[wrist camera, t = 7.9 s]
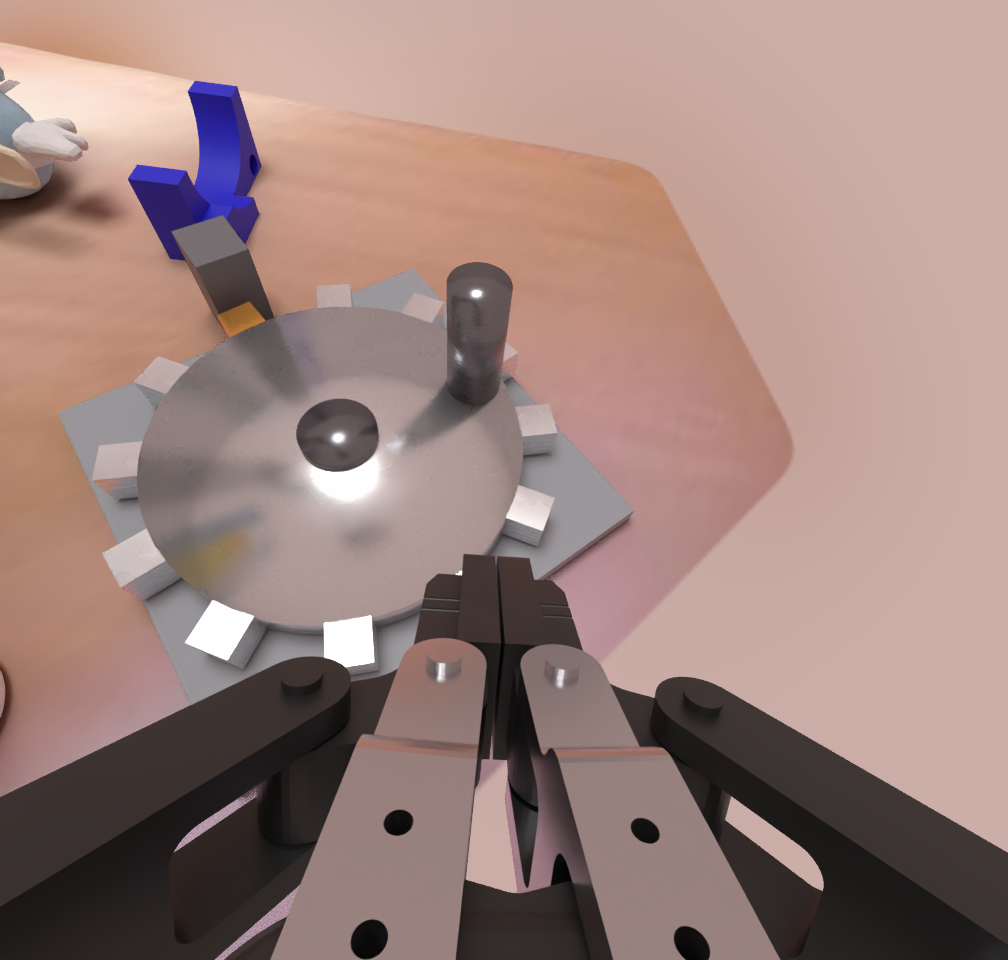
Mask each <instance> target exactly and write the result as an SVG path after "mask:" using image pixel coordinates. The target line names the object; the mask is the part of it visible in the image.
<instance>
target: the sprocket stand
mask: <svg viewBox="0 0 1008 960" xmlns="http://www.w3.org/2000/svg"><path fill="white" fill-rule="evenodd" d="M171 232H172V234H173V236H174V238H175V240H176V242H177V244H178V246H179V248H180V250H181V252H182V254H183V256H184V258H185V260H186V262H187V264H188V266H189V268H190V270H191V272H192V274H193V276H194V278H195V280H196V282H197V284H198V285H199V287H200V289H201V291H202V293H203V295H204V297H205V299H206V301H207V303H208V305H209V307H210V309H211V311H212V313H213V314H214V316H215V317H216V319H217V320H218V322H219V323H220V325H221V326H222V324H221V322H220V320H219V318H218V316H217V315H219V314H221V313H224V312H226V311H228V310H231V309H233V308H235V307H237V306H240V305H242V304H244V303H247V302H250V303H251V304H252V305H253V306H254V307H255V309H256V310H257V311H258V312H259V313H260V315H261V316H262V317H263V318H264V319H265V321H267V320H270V319H273V318H274V316H273V313H272V311H271V308H270V305H269V303H268V300H267V297H266V295H265V292H264V289H263V287H262V284H261V281H260V279H259V276H258V274H257V271H256V268H255V266H254V263H253V260H252V258H251V255H250V252H249V250H248V248H247V247H246V245H245V244H244V243H243V241H242V240H241V239H240V237H239V236H238V235H237V233H236V232H235V231H234V229H233V228H232V227H231V225H230V224H229V223H228V221H227V220H226V219H225V217H224V216H223V215H222V216H219V217H215V218H212V219H209V220H206V221H203V222H200V223H196V224H193V225H190V226H187V227H184V228H181V229H177V230H174V231H171ZM414 292H415V293H418V294H421V295H424V296H427V297H430V298H433V299H436V300H439V301H442V300H441V299H440V297H439V296H438V295H437V294H436V293H435V292H434V291H433V290H432V289H431V288H430V286H429V285H428V284H427V283H426V282H425V281H424V280H423V279H422V278H421V277H420V276H419V274H418V273H417V272H416V271H415V270H414V269H411V270H408V271H406V272H403V273H401V274H398V275H396V276H394V277H391V278H389V279H386V280H384V281H381V282H379V283H376V284H374V285H371V286H369V287H366V288H364V289H361V290H359V291H356V292H354V293H352V297H353V302H354V307H368V308H378V309H384V310H390V311H395V312H400V313H401V312H402V311H403V309H404V307H405V306H406V304H407V303H408V301H409V300H410V298H411V297H412V295H413V294H414ZM442 302H443V301H442ZM314 309H317V308H314ZM222 328H223V326H222ZM223 329H224V328H223ZM443 329H445V330H447V305H446V304H445V303H444V327H443ZM224 331H225V330H224ZM208 352H209V351H208ZM206 353H207V352H206ZM206 353H203V354H201V355H198V356H196V357H193V358H191V359H188V360H186V361H183V362H181V363H179V364H182V365H185V366H188V367H191V366H192V365H193V364H194V363H195V362H196V361H197V360H199V359H200V358H201V357H202V356H204V355H205V354H206ZM503 383H504V384H505V386H506V387H507V390H508V392H509V394H510V396H511V398H512V400H513V402H514V404H515V407H519V406H529V405H537V404H536V402H535V401H534V400H533V399H532V398H531V397H530V396H529V395H528V394H527V393H526V392H525V390H524V389H523V388H522V387H521V386H520V385H519V384H518V383H517V382H516V381H515V379H514V378H513V377H511V378H509V379H507V380H506V381H504V382H503ZM157 408H158V407H156V406H153V405H151V404H150V402H149V401H148V400H147V398H146V397H145V396H144V395H143V393H142V392H141V391H140V390H139V388H138V387H137V386H136V385H135V383H134V382H131V383H129V384H126V385H124V386H122V387H119V388H117V389H114V390H112V391H109V392H107V393H104V394H102V395H99V396H97V397H94V398H92V399H89V400H87V401H84V402H82V403H80V404H77V405H75V406H72V407H70V408H67V409H65V410H62V411H60V412H58V414H59V417H60V419H61V421H62V423H63V425H64V428H65V430H66V432H67V434H68V436H69V439H70V441H71V443H72V445H73V447H74V449H75V452H76V454H77V456H78V458H79V460H80V463H81V465H82V467H83V469H84V471H85V474H86V476H87V478H88V480H89V482H90V485H91V487H92V489H93V491H94V493H95V496H96V498H97V500H98V502H99V504H100V507H101V509H102V511H103V513H104V515H105V518H106V520H107V522H108V524H109V526H110V529H111V531H112V533H113V535H114V537H115V540H116V542H117V544H120V543H121V542H123V541H125V540H127V539H128V538H130V537H132V536H134V535H136V534H137V533H139V532H141V531H143V530H145V529H146V526H145V524H144V521H143V517H142V513H141V510H140V506H139V502H138V497H134V498H124V499H115V500H114V499H113V498H112V497H111V496H110V495H109V494H107V493H106V492H105V491H104V490H103V489H101V488H100V487H99V486H98V485H97V484H95V483H94V482H93V481H92V477H93V472H94V467H95V463H96V458H97V453H98V448H99V445H108V444H119V443H130V442H140V441H143V438H144V435H145V433H146V430H147V428H148V425H149V423H150V421H151V418H152V416H153V414H154V413H155V411H156V409H157ZM555 426H556V430H557V435H556V439H555V442H554V445H553V448H552V451H551V452H550V453H541V454H531V455H523V463H522V470H521V476H520V482H519V485H520V486H523V487H526V488H529V489H532V490H534V491H537V492H540V493H543V494H546V495H548V496H551V497H554V498H555V499H554V501H553V504H552V507H551V510H550V513H549V516H548V518H547V521H546V524H545V527H544V530H543V533H542V535H541V538H540V540H539V543H538V546H534V545H531V544H529V543H526V542H523V541H520V540H518V539H515V538H512V537H510V536H507V535H504V534H502V535H501V537H500V539H499V540H498V542H497V543H496V545H495V546H494V548H493V549H492V551H491V552H490V554H489V555H491V556H495V561H497V556H507V557H522V558H529V559H530V562H531V567H532V572H533V576H534V580H545V579H546V578H547V577H549V576H550V575H552V574H553V573H554V572H556V571H557V570H558V569H560V568H561V567H563V566H564V565H565V564H567V563H568V562H570V561H571V560H572V559H574V558H575V557H577V556H578V555H579V554H581V553H582V552H584V551H585V550H586V549H588V548H589V547H590V546H592V545H593V544H595V543H596V542H597V541H599V540H600V539H602V538H603V537H604V536H606V535H607V534H609V533H610V532H611V531H613V530H614V529H616V528H617V527H618V526H620V525H621V524H622V523H624V522H625V521H627V520H628V519H629V517H630V516H631V514H632V513H633V512H634V510H633V509H632V507H631V506H630V505H629V504H628V503H627V502H626V501H625V500H624V499H623V498H622V497H621V495H620V494H619V493H618V492H617V491H616V490H615V489H614V488H613V487H612V486H611V484H610V483H609V482H608V481H607V480H606V479H605V478H604V477H603V476H602V475H601V474H600V472H599V471H598V470H597V469H596V468H595V467H594V466H593V465H592V464H591V463H590V462H589V460H588V459H587V458H586V457H585V456H584V455H583V454H582V453H581V452H580V451H579V449H578V448H577V447H576V446H575V445H574V444H573V443H572V442H571V441H570V440H569V439H568V437H567V436H566V435H565V434H564V433H563V432H562V431H561V430H560V429H559V428H558V427H557V425H556V424H555ZM211 602H212V601H211V600H210V599H208V598H207V597H205V596H204V595H203V594H201V593H200V592H199V591H197V590H196V589H195V588H193V587H192V586H191V585H189V584H188V583H187V582H186V581H185V580H184V579H183V578H180V579H178V580H177V581H175V582H173V583H172V584H170V585H169V586H167V587H165V588H164V589H162V590H160V591H159V592H157V593H155V594H154V595H152V596H150V597H149V598H147V599H146V600H144V603H145V606H146V608H147V610H148V612H149V614H150V617H151V619H152V621H153V623H154V625H155V628H156V630H157V632H158V634H159V636H160V639H161V641H162V643H163V645H164V647H165V650H166V652H167V654H168V656H169V658H170V661H171V663H172V665H173V667H174V669H175V672H176V674H177V676H178V678H179V680H180V683H181V685H182V687H183V689H184V691H185V694H186V696H187V698H188V700H189V702H190V705H192V704H194V703H196V702H198V701H201V700H203V699H205V698H207V697H209V696H211V695H213V694H215V693H217V692H219V691H221V690H223V689H225V688H227V687H230V686H232V685H234V684H236V683H238V682H240V681H242V680H244V679H246V678H248V677H250V676H252V675H254V674H256V673H258V672H261V671H263V670H265V669H267V668H269V667H271V666H273V665H275V664H277V663H280V662H282V661H285V660H289V659H293V658H297V657H305V656H318V657H325V645H324V635H315V634H297V633H291V632H285V631H280V630H274V629H270V628H267V630H266V631H265V633H264V635H263V637H262V638H261V640H260V642H259V643H258V645H257V647H256V648H255V650H254V652H253V654H252V655H251V657H250V659H249V660H248V662H247V664H246V666H245V667H244V669H242V668H239V667H237V666H235V665H232V664H230V663H227V662H225V661H222V660H220V659H218V658H215V657H213V656H210V655H208V654H205V653H203V652H201V651H199V650H197V649H195V648H194V647H192V646H190V645H188V644H186V643H185V642H186V640H187V639H188V637H189V635H190V634H191V632H192V631H193V629H194V628H195V626H196V625H197V623H198V622H199V620H200V619H201V617H202V616H203V614H204V613H205V611H206V610H207V608H208V606H209V605H210V603H211ZM420 612H421V611H419V612H417V613H415V614H413V615H411V616H409V617H407V618H404V619H401V620H399V621H396V622H393V623H390V624H387V625H384V626H381V627H377V628H376V629H377V644H378V659H379V671H374V672H368V673H362V674H356V675H350V676H351V682H352V681H358V680H364V679H370V678H375V677H379V676H382V675H385V674H388V673H390V672H392V671H394V670H396V669H398V667H399V664H400V662H401V659H402V657H403V655H404V653H405V652H406V651H407V650H408V649H409V648H410V647H412V646H413V645H414V641H415V636H416V631H417V626H418V622H419V617H420ZM254 788H255V787H254ZM254 788H253V789H254ZM251 790H252V789H251ZM251 790H250V791H251ZM250 791H248V792H250ZM248 792H247V793H248ZM247 793H245V794H247ZM245 794H244V795H245ZM244 795H242V796H241V797H243V796H244Z"/></svg>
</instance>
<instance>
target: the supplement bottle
mask: <svg viewBox="0 0 1008 960" xmlns="http://www.w3.org/2000/svg"><path fill="white" fill-rule="evenodd" d="M4 703H5V683H4V678H3V675H2V672H1V670H0V718H1V715H2V712H3V708H4Z"/></svg>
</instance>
